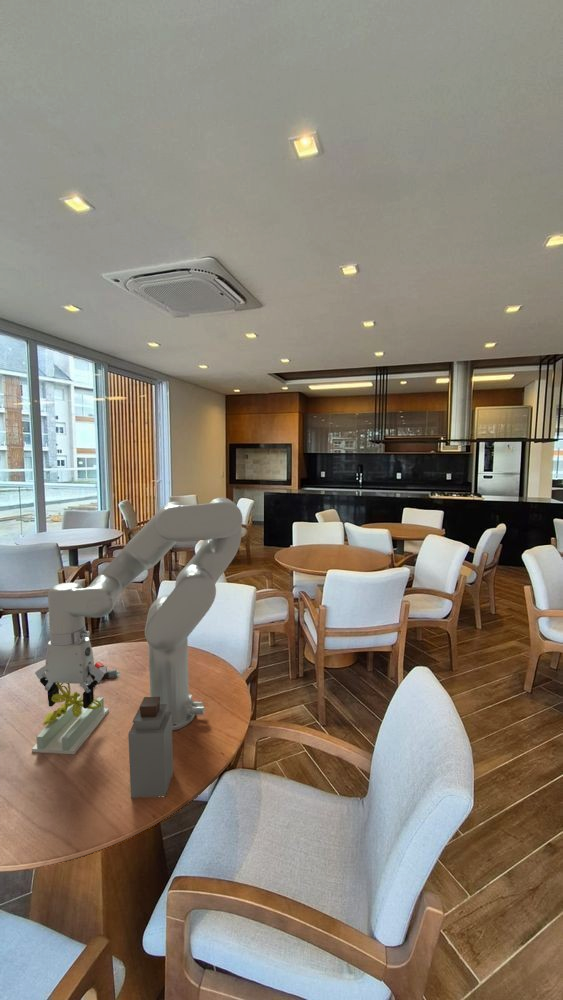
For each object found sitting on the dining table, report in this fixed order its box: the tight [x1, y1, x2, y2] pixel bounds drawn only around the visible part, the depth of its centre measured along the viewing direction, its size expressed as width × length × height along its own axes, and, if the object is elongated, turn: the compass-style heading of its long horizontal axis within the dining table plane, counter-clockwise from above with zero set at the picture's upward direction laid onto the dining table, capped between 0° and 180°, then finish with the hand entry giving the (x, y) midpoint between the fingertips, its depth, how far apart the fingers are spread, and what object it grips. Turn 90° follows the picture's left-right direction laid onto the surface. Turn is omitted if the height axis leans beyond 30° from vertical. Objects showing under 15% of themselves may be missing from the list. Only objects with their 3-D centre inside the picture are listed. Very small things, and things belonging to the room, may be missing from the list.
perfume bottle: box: [127, 696, 174, 799], centre depth 84 cm, size 7×7×18 cm
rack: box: [31, 696, 110, 755], centre depth 102 cm, size 10×16×4 cm, turn 176°
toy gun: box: [86, 661, 121, 682], centre depth 128 cm, size 10×12×5 cm
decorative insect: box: [43, 683, 101, 726], centre depth 100 cm, size 13×3×10 cm
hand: (71, 703), depth 101 cm, fingers open, 8 cm apart
